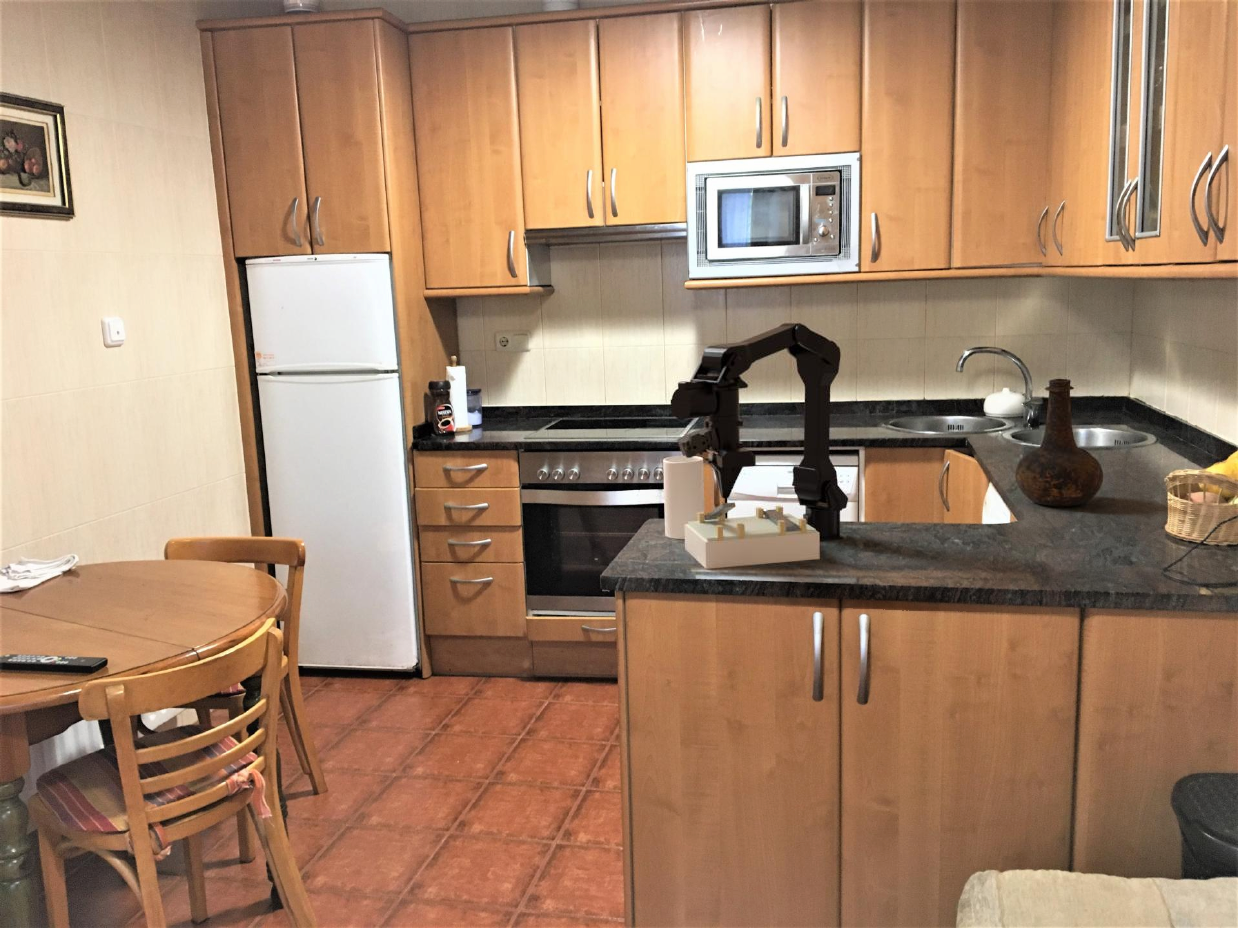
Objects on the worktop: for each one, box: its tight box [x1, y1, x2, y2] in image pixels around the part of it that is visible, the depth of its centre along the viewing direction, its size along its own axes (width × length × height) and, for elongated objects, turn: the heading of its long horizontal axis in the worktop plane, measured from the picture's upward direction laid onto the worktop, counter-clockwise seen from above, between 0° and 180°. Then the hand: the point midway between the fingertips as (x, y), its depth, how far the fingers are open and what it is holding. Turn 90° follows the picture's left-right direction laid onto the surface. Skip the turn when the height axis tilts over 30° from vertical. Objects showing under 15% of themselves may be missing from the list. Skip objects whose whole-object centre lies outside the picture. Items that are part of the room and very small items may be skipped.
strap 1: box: [704, 502, 736, 520], centre depth 193 cm, size 14×2×1 cm, turn 11°
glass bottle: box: [1014, 378, 1104, 508], centre depth 227 cm, size 18×18×28 cm
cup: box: [662, 455, 705, 540], centre depth 211 cm, size 8×8×16 cm
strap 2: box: [763, 508, 799, 531], centre depth 195 cm, size 14×2×1 cm, turn 11°
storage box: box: [684, 505, 820, 570], centre depth 194 cm, size 22×15×8 cm
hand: (725, 497), depth 189 cm, fingers closed
